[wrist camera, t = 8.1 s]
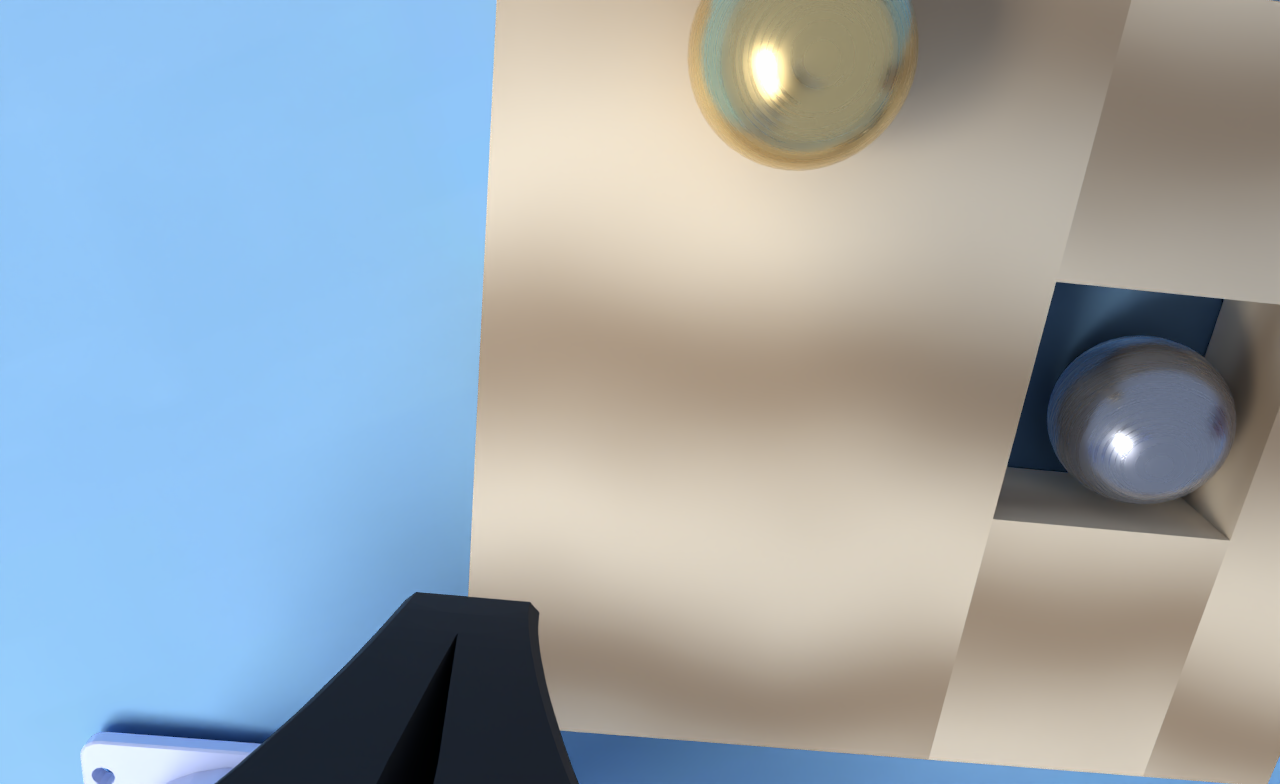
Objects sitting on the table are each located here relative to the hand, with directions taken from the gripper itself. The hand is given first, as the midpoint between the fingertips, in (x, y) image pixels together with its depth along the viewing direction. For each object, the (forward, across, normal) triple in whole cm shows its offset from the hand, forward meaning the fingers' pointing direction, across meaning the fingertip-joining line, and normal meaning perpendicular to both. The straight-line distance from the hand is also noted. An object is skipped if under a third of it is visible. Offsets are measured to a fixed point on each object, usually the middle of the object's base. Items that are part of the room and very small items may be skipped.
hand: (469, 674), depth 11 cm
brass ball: (+6, -4, -6) cm, 9 cm away
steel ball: (+8, -11, -1) cm, 14 cm away
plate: (+10, -8, 0) cm, 12 cm away
